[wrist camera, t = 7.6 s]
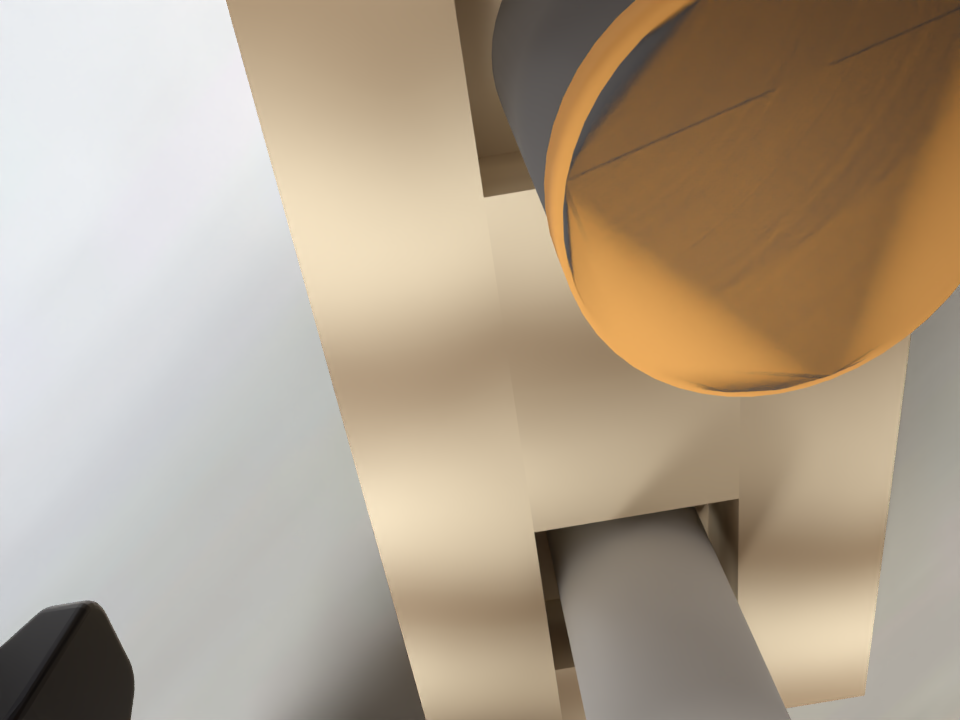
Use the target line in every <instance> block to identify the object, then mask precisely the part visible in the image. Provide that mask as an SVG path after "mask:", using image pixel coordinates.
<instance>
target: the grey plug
mask: <svg viewBox="0 0 960 720" xmlns="http://www.w3.org/2000/svg"><path fill="white" fill-rule="evenodd" d="M547 539H548V544H549V548H550V553H551V558H552V562H553V567H554V571H555V576H556V581H557V585H558V590H559V595H560V599H561V604H562V609H563V613H564V618H565V623H566V627H567V632H568V637H569V641H570V646H571V651H572V655H573V660H574V665H575V669H576V674H577V679H578V683H579V688H580V693H581V697H582V702H583V707H584V711H585V716H586V720H791V719H790V717H789V714H788V712H787V710H786V708H785V705H784V703H783V701H782V699H781V697H780V694H779V692H778V690H777V688H776V686H775V683H774V681H773V679H772V677H771V675H770V672H769V670H768V668H767V666H766V664H765V661H764V659H763V657H762V655H761V652H760V650H759V648H758V646H757V644H756V641H755V639H754V637H753V635H752V633H751V630H750V628H749V626H748V624H747V622H746V619H745V617H744V615H743V613H742V610H741V608H740V606H739V604H738V602H737V599H736V597H735V595H734V593H733V591H732V588H731V586H730V584H729V582H728V580H727V577H726V575H725V573H724V571H723V568H722V566H721V564H720V562H719V560H718V557H717V555H716V553H715V551H714V549H713V546H712V544H711V542H710V540H709V538H708V535H707V533H706V531H705V529H704V527H703V524H702V522H701V520H700V518H699V515H698V513H697V511H696V509H695V507H694V506H691V507H685V508H679V509H673V510H667V511H661V512H655V513H649V514H643V515H637V516H631V517H625V518H619V519H613V520H606V521H600V522H594V523H588V524H582V525H576V526H570V527H564V528H558V529H552V530H547Z"/></svg>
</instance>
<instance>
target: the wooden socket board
mask: <svg viewBox="0 0 960 720" xmlns="http://www.w3.org/2000/svg"><path fill="white" fill-rule="evenodd" d="M226 2H227V6H228V9H229V13H230V17H231V20H232V24H233V27H234V31H235V35H236V38H237V42H238V45H239V49H240V53H241V56H242V60H243V63H244V67H245V71H246V74H247V78H248V81H249V85H250V89H251V92H252V96H253V99H254V103H255V106H256V110H257V114H258V117H259V121H260V124H261V128H262V132H263V135H264V139H265V142H266V146H267V150H268V153H269V157H270V160H271V164H272V168H273V171H274V175H275V178H276V182H277V186H278V189H279V193H280V196H281V200H282V204H283V207H284V211H285V214H286V218H287V222H288V225H289V229H290V232H291V236H292V240H293V243H294V247H295V250H296V254H297V258H298V261H299V265H300V268H301V272H302V276H303V279H304V283H305V286H306V290H307V294H308V297H309V301H310V304H311V308H312V312H313V315H314V319H315V322H316V326H317V330H318V333H319V337H320V340H321V344H322V348H323V351H324V355H325V358H326V362H327V366H328V369H329V373H330V376H331V380H332V384H333V387H334V391H335V394H336V398H337V402H338V405H339V409H340V412H341V416H342V420H343V423H344V427H345V430H346V434H347V438H348V441H349V445H350V448H351V452H352V456H353V459H354V463H355V466H356V470H357V474H358V477H359V481H360V484H361V488H362V492H363V495H364V499H365V502H366V506H367V510H368V513H369V517H370V520H371V524H372V528H373V531H374V535H375V538H376V542H377V546H378V549H379V553H380V556H381V560H382V564H383V567H384V571H385V574H386V578H387V582H388V585H389V589H390V592H391V596H392V600H393V603H394V607H395V610H396V614H397V618H398V621H399V625H400V628H401V632H402V636H403V639H404V643H405V646H406V650H407V654H408V657H409V661H410V664H411V668H412V672H413V675H414V679H415V682H416V686H417V689H418V693H419V697H420V700H421V704H422V707H423V711H424V715H425V718H426V720H586V716H585V711H584V707H583V702H582V697H581V693H580V688H579V683H578V679H577V674H576V669H575V665H574V660H573V655H572V651H571V646H570V641H569V637H568V632H567V627H566V623H565V618H564V613H563V609H562V604H561V599H560V595H559V590H558V585H557V581H556V576H555V571H554V567H553V562H552V558H551V553H550V548H549V544H548V539H547V530H552V529H558V528H564V527H570V526H576V525H582V524H588V523H594V522H600V521H606V520H613V519H619V518H625V517H631V516H637V515H643V514H649V513H655V512H661V511H667V510H673V509H679V508H685V507H691V506H694V507H695V509H696V511H697V513H698V515H699V518H700V520H701V522H702V524H703V527H704V529H705V531H706V533H707V535H708V538H709V540H710V542H711V544H712V546H713V549H714V551H715V553H716V555H717V557H718V560H719V562H720V564H721V566H722V568H723V571H724V573H725V575H726V577H727V580H728V582H729V584H730V586H731V588H732V591H733V593H734V595H735V597H736V599H737V602H738V604H739V606H740V608H741V610H742V613H743V615H744V617H745V619H746V622H747V624H748V626H749V628H750V630H751V633H752V635H753V637H754V639H755V641H756V644H757V646H758V648H759V650H760V652H761V655H762V657H763V659H764V661H765V664H766V666H767V668H768V670H769V672H770V675H771V677H772V679H773V681H774V683H775V686H776V688H777V690H778V692H779V694H780V697H781V699H782V701H783V703H784V705H785V708H790V707H797V706H803V705H809V704H815V703H821V702H827V701H833V700H839V699H845V698H851V697H858V696H864V695H865V687H866V679H867V672H868V664H869V656H870V648H871V641H872V633H873V625H874V617H875V609H876V602H877V594H878V586H879V578H880V571H881V563H882V555H883V547H884V540H885V532H886V524H887V516H888V508H889V501H890V493H891V485H892V477H893V470H894V462H895V454H896V446H897V439H898V431H899V423H900V415H901V407H902V400H903V392H904V384H905V376H906V369H907V361H908V353H909V345H910V338H911V333H910V334H909V335H908V336H907V337H906V338H904V339H903V340H901V341H900V342H898V343H897V344H896V345H894V346H893V347H891V348H890V349H888V350H887V351H886V352H884V353H883V354H881V355H879V356H877V357H876V358H874V359H872V360H870V361H869V362H867V363H865V364H863V365H861V366H860V367H858V368H856V369H854V370H851V371H849V372H847V373H845V374H842V375H840V376H838V377H836V378H833V379H831V380H828V381H825V382H822V383H819V384H816V385H813V386H810V387H807V388H803V389H798V390H794V391H789V392H785V393H780V394H772V395H763V396H754V397H726V396H717V395H709V394H701V393H697V392H693V391H689V390H685V389H681V388H677V387H675V386H672V385H669V384H667V383H664V382H662V381H659V380H657V379H654V378H653V377H651V376H649V375H647V374H645V373H644V372H642V371H640V370H638V369H636V368H635V367H633V366H632V365H630V364H629V363H628V362H626V361H625V360H624V359H623V358H621V357H620V356H619V355H617V354H616V353H615V352H614V351H613V350H612V349H611V348H610V347H609V346H608V345H607V344H606V343H605V342H604V341H603V340H602V339H601V338H600V337H599V336H598V335H597V334H596V332H595V331H594V329H593V328H592V327H591V325H590V324H589V322H588V321H587V320H586V318H585V317H584V315H583V314H582V312H581V310H580V308H579V306H578V304H577V302H576V300H575V298H574V296H573V294H572V292H571V290H570V287H569V285H568V282H567V280H566V277H565V274H564V272H563V269H562V267H561V264H560V262H559V259H558V257H557V254H556V251H555V248H554V245H553V242H552V239H551V236H550V232H549V226H548V221H547V216H546V214H545V211H544V209H543V206H542V204H541V201H540V199H539V196H538V194H537V192H536V189H535V187H534V184H533V182H532V179H531V177H530V174H529V172H528V169H527V167H526V164H525V162H524V160H523V157H522V155H521V152H520V150H519V147H518V145H517V142H516V140H515V137H514V135H513V132H512V130H511V128H510V125H509V123H508V120H507V118H506V115H505V113H504V110H503V108H502V105H501V103H500V100H499V97H498V94H497V91H496V87H495V82H494V77H493V70H492V56H491V55H492V38H493V32H494V27H495V21H496V18H497V14H498V11H499V8H500V5H501V2H502V0H226Z"/></svg>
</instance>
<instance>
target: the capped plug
mask: <svg viewBox="0 0 960 720" xmlns="http://www.w3.org/2000/svg"><path fill="white" fill-rule="evenodd" d="M491 56H492V70H493V77H494V82H495V87H496V91H497V94H498V97H499V100H500V103H501V105H502V108H503V110H504V113H505V115H506V118H507V120H508V123H509V125H510V128H511V130H512V132H513V135H514V137H515V140H516V142H517V145H518V147H519V150H520V152H521V155H522V157H523V160H524V162H525V164H526V167H527V169H528V172H529V174H530V177H531V179H532V182H533V184H534V187H535V189H536V192H537V194H538V196H539V199H540V201H541V204H542V206H543V209H544V211H545V214H546V216H547V221H548V226H549V232H550V236H551V239H552V242H553V245H554V248H555V251H556V254H557V257H558V259H559V262H560V264H561V267H562V269H563V272H564V274H565V277H566V280H567V282H568V285H569V287H570V290H571V292H572V294H573V296H574V298H575V300H576V302H577V304H578V306H579V308H580V310H581V312H582V314H583V315H584V317H585V318H586V320H587V321H588V322H589V324H590V325H591V327H592V328H593V329H594V331H595V332H596V334H597V335H598V336H599V337H600V338H601V339H602V340H603V341H604V342H605V343H606V344H607V345H608V346H609V347H610V348H611V349H612V350H613V351H614V352H615V353H616V354H617V355H619V356H620V357H621V358H623V359H624V360H625V361H626V362H628V363H629V364H630V365H632V366H633V367H635V368H636V369H638V370H640V371H642V372H644V373H645V374H647V375H649V376H651V377H653V378H654V379H657V380H659V381H662V382H664V383H667V384H669V385H672V386H675V387H677V388H681V389H685V390H689V391H693V392H697V393H701V394H709V395H717V396H726V397H754V396H763V395H772V394H780V393H785V392H789V391H794V390H798V389H803V388H807V387H810V386H813V385H816V384H819V383H822V382H825V381H828V380H831V379H833V378H836V377H838V376H840V375H842V374H845V373H847V372H849V371H851V370H854V369H856V368H858V367H860V366H861V365H863V364H865V363H867V362H869V361H870V360H872V359H874V358H876V357H877V356H879V355H881V354H883V353H884V352H886V351H887V350H888V349H890V348H891V347H893V346H894V345H896V344H897V343H898V342H900V341H901V340H903V339H904V338H906V337H907V336H908V335H909V334H910V333H912V332H913V331H914V330H915V329H916V328H917V327H919V326H920V325H921V324H922V323H923V322H925V321H926V320H927V319H928V318H929V317H930V316H931V315H932V314H933V313H934V312H935V311H936V310H937V309H938V308H939V307H940V306H941V305H942V304H943V303H944V302H945V301H946V300H947V299H948V298H949V297H950V295H951V294H952V293H953V292H954V290H955V289H956V288H957V287H958V285H959V284H960V0H502V2H501V5H500V8H499V11H498V14H497V18H496V21H495V27H494V32H493V38H492V55H491Z"/></svg>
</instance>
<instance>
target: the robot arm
mask: <svg viewBox="0 0 960 720" xmlns="http://www.w3.org/2000/svg"><path fill="white" fill-rule="evenodd" d="M133 698H134V674H133V670H132V666H131V664H130V661H129V659H128V657H127V655H126V653H125V651H124V649H123V647H122V645H121V643H120V641H119V639H118V637H117V635H116V633H115V631H114V629H113V627H112V625H111V623H110V621H109V619H108V617H107V615H106V613H105V611H104V610H103V608H102V607H101V606H100V605H99V604H98V603H96V602H94V601H80V602H73V603H67V604H61V605H55V606H51V607H48V608H45V609H43V610H42V611H40V612H39V613H38V614H37V615H35V616H34V617H33V618H32V619H31V620H30V621H29V622H28V623H27V624H25V625H24V626H23V627H22V628H21V629H20V630H19V631H18V632H17V633H15V634H14V635H13V636H12V637H11V638H10V639H9V640H8V641H7V642H5V643H4V644H3V645H2V646H1V647H0V720H131V712H132V705H133Z"/></svg>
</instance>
